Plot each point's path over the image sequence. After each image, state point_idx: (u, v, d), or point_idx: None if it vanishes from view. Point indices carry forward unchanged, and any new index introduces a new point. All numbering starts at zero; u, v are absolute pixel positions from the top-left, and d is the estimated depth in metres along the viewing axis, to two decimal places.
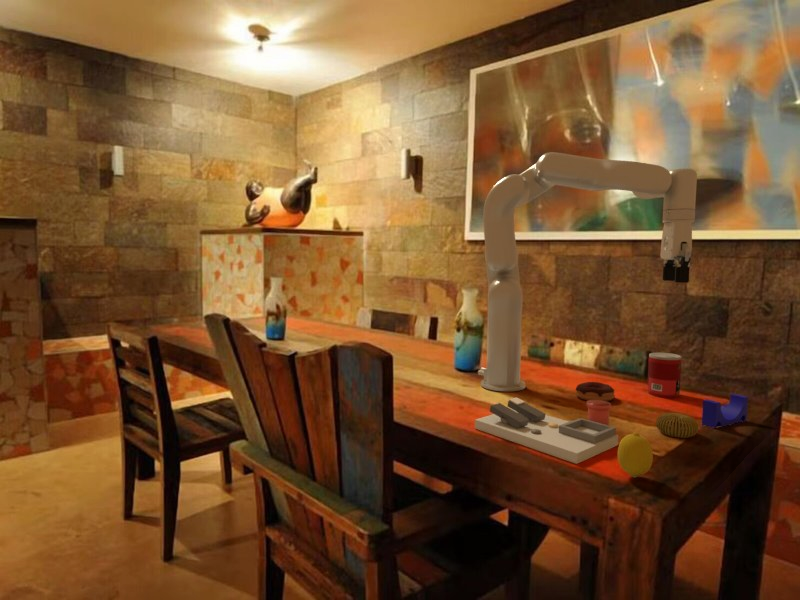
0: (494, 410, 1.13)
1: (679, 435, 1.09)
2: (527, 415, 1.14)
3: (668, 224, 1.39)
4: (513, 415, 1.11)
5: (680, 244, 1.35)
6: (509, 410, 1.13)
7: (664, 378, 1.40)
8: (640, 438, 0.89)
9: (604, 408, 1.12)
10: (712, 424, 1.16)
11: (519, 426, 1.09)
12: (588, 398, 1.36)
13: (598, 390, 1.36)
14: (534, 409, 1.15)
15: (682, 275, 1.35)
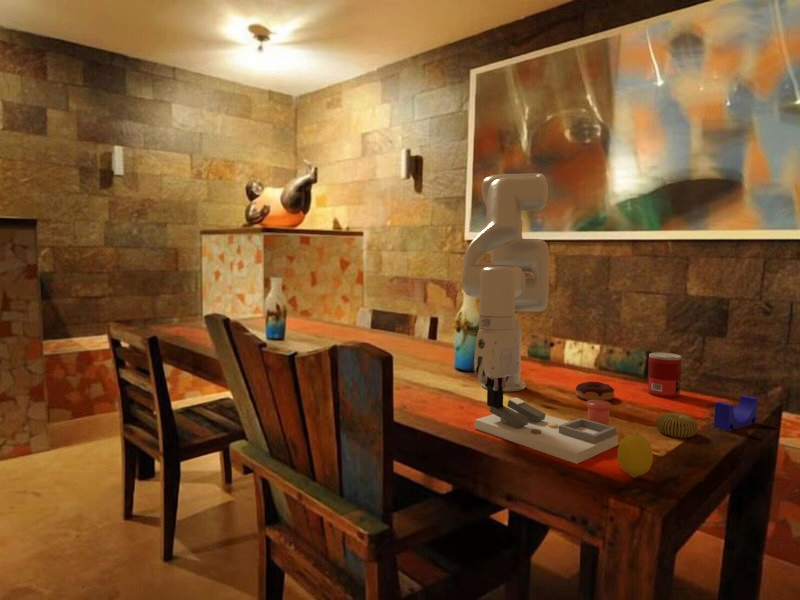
0: (494, 410, 1.13)
1: (679, 435, 1.09)
2: (527, 415, 1.14)
3: (509, 334, 1.12)
4: (513, 414, 1.11)
5: None
6: (509, 410, 1.13)
7: (664, 378, 1.40)
8: (640, 438, 0.89)
9: (604, 408, 1.12)
10: (725, 427, 1.14)
11: (519, 426, 1.09)
12: (588, 398, 1.37)
13: (598, 390, 1.36)
14: (534, 409, 1.15)
15: None
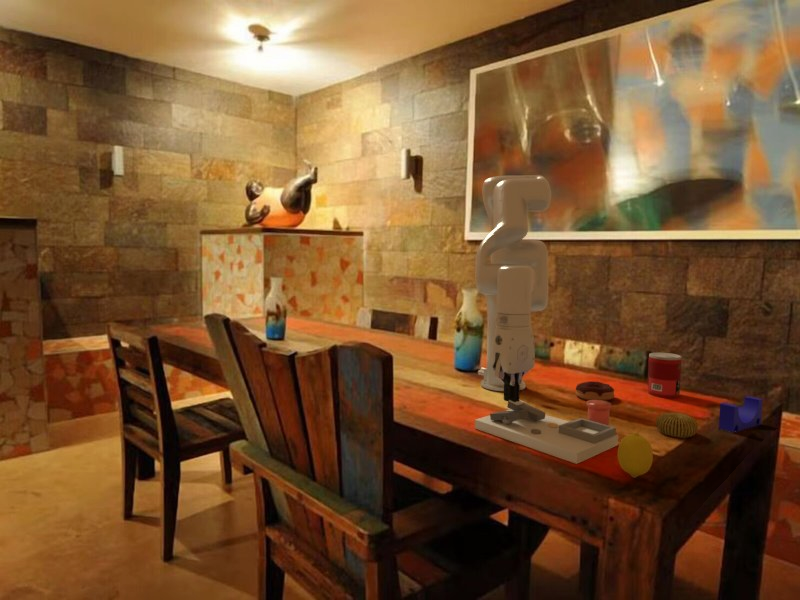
0: (494, 416, 1.13)
1: (679, 435, 1.09)
2: None
3: (525, 331, 1.16)
4: (512, 411, 1.11)
5: None
6: (508, 411, 1.13)
7: (664, 378, 1.40)
8: (640, 438, 0.89)
9: (604, 408, 1.12)
10: (730, 428, 1.13)
11: (520, 417, 1.08)
12: (588, 397, 1.37)
13: (598, 389, 1.36)
14: (534, 409, 1.15)
15: None
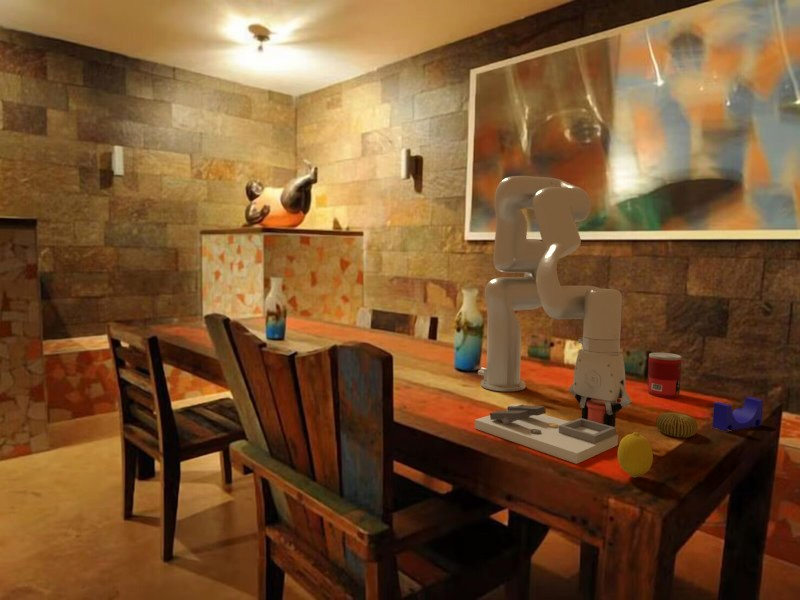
0: (494, 416, 1.13)
1: (678, 435, 1.09)
2: None
3: (598, 357, 1.11)
4: (512, 412, 1.11)
5: (620, 384, 1.10)
6: (508, 411, 1.13)
7: (664, 378, 1.40)
8: (640, 438, 0.89)
9: (604, 408, 1.12)
10: (723, 427, 1.14)
11: (520, 418, 1.08)
12: None
13: None
14: (533, 406, 1.15)
15: (612, 423, 1.12)
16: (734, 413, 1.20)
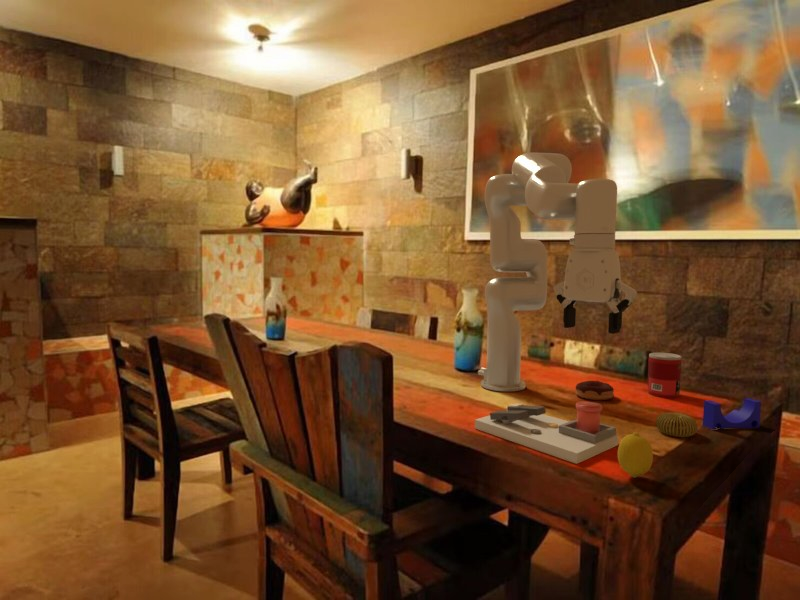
0: (494, 416, 1.13)
1: (677, 434, 1.10)
2: None
3: (591, 254, 1.01)
4: (512, 412, 1.11)
5: (615, 282, 0.99)
6: (508, 411, 1.13)
7: (664, 378, 1.40)
8: (640, 438, 0.89)
9: (594, 410, 1.03)
10: (711, 425, 1.15)
11: (520, 418, 1.08)
12: (587, 396, 1.38)
13: (597, 389, 1.37)
14: (533, 406, 1.15)
15: (618, 323, 1.00)
16: (732, 413, 1.20)
